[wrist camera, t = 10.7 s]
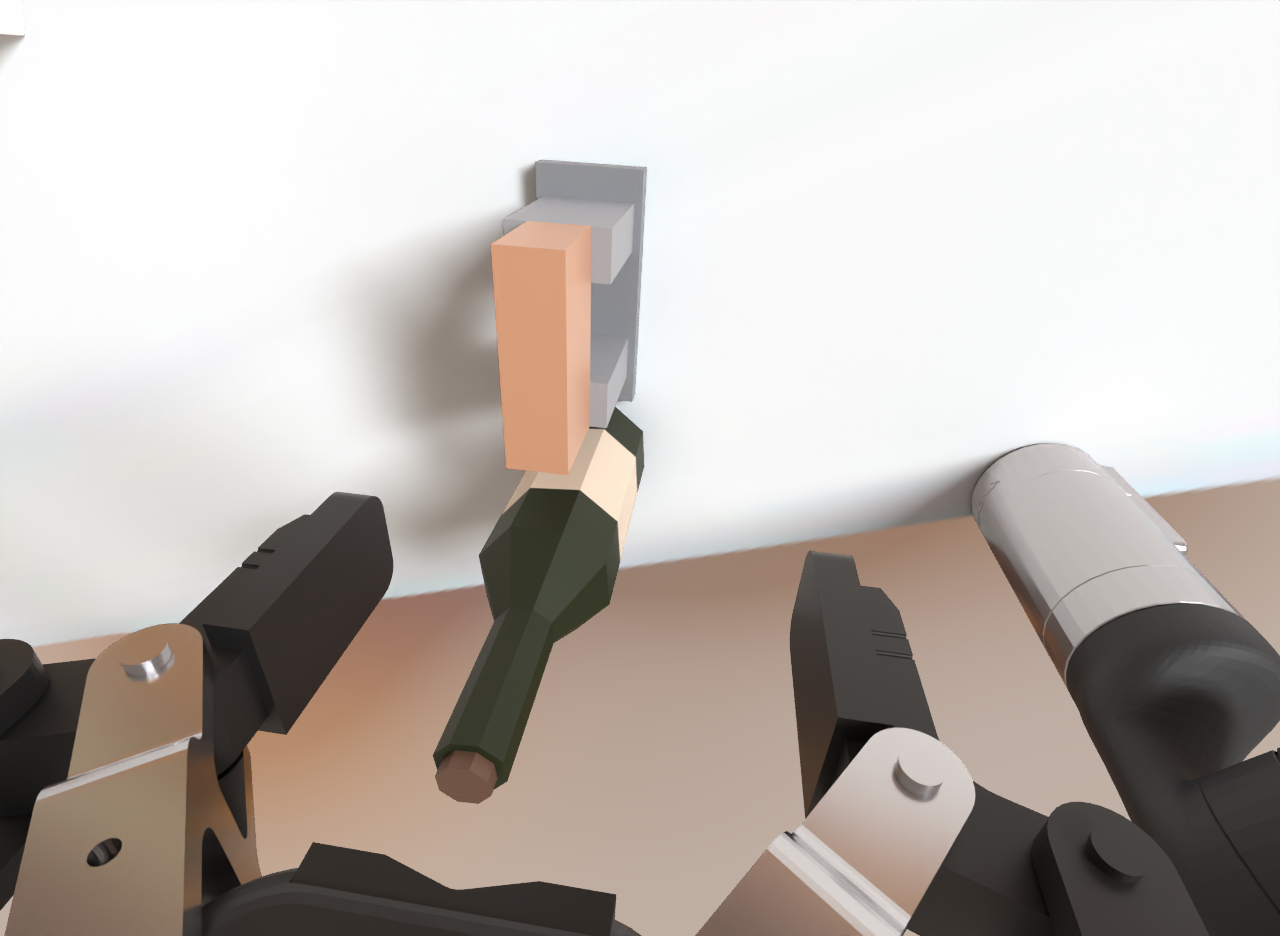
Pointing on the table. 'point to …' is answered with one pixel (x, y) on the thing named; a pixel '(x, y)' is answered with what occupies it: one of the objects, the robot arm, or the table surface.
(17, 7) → the milk
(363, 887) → the robot arm
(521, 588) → the wine bottle
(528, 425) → the rectangular block
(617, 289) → the stand
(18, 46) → the table surface
